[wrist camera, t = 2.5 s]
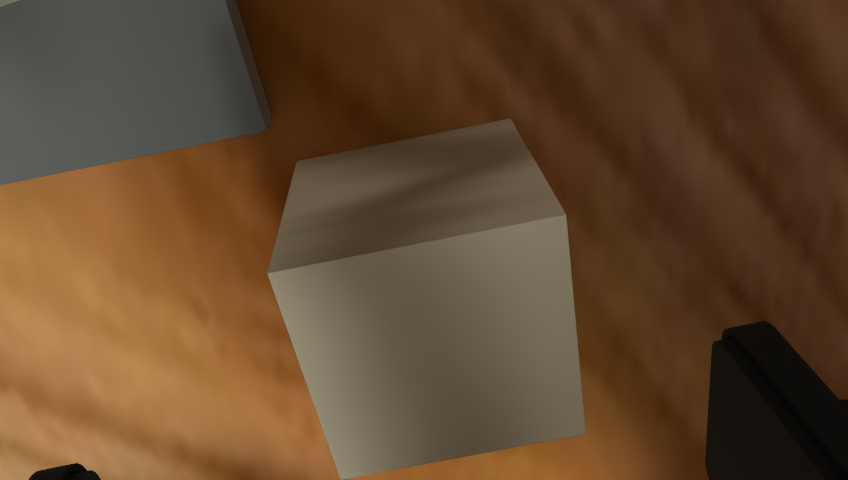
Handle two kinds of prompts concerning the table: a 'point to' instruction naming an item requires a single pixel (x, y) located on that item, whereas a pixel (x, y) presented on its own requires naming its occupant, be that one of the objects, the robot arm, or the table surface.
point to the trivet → (121, 81)
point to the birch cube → (430, 299)
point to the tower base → (6, 2)
